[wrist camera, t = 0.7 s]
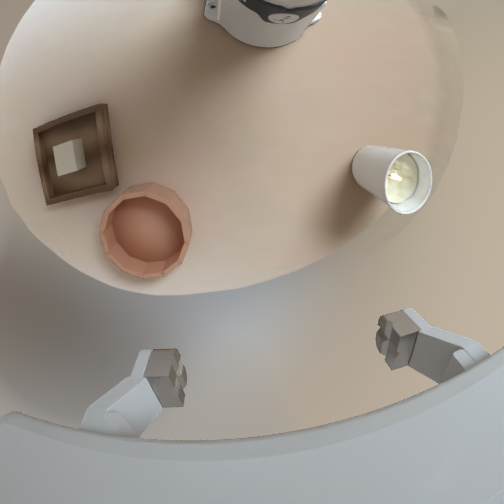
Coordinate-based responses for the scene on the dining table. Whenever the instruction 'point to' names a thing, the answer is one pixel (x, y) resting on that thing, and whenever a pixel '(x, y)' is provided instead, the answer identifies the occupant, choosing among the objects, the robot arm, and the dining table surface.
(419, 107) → the dining table surface
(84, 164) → the off-white cube block
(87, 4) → the dining table surface
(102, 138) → the walnut tray
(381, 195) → the candle holder
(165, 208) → the terracotta bowl
